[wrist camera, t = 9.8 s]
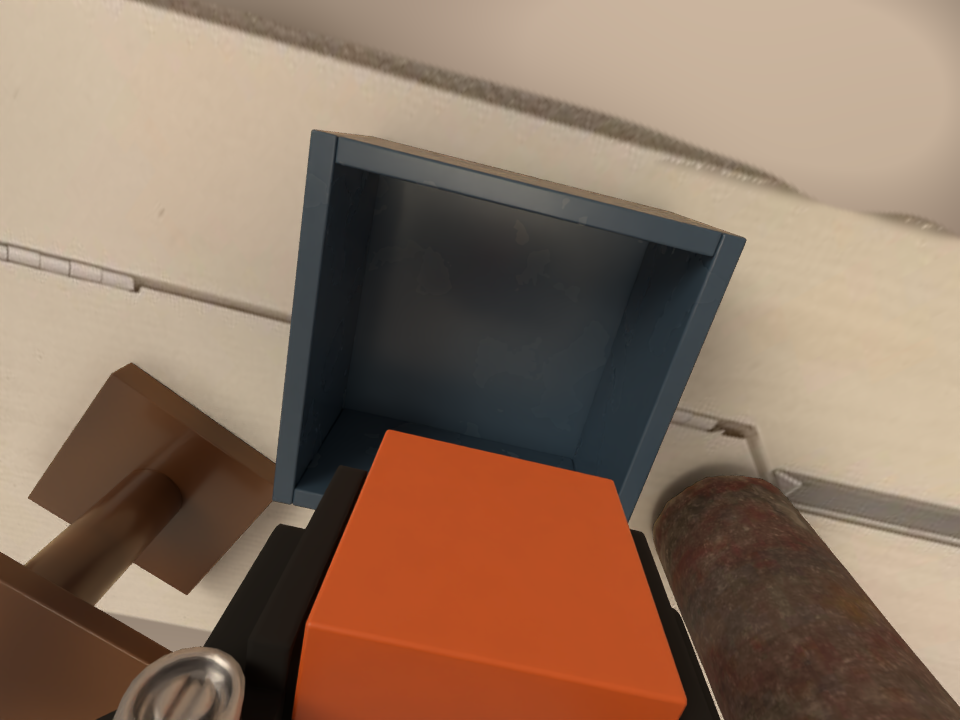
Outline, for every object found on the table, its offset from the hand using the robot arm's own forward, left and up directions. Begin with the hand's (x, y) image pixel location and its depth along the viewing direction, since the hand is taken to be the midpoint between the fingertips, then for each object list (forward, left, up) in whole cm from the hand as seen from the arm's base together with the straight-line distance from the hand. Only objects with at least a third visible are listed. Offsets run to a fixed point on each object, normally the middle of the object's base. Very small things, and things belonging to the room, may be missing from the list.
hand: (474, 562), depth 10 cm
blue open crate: (0, 0, -16) cm, 16 cm away
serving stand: (-7, -19, -16) cm, 26 cm away
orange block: (0, 0, -1) cm, 1 cm away
